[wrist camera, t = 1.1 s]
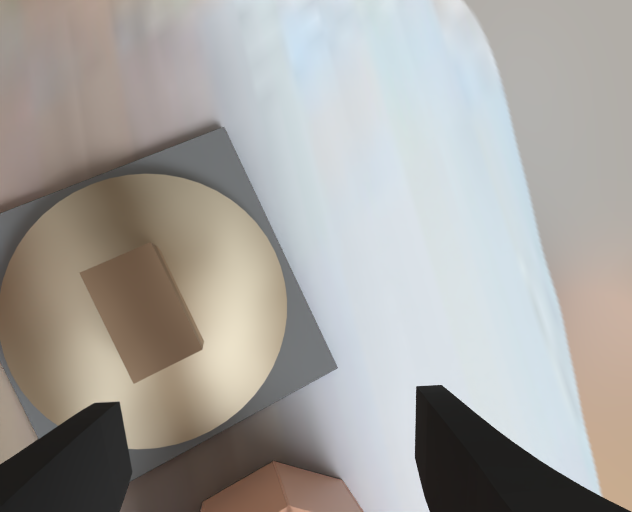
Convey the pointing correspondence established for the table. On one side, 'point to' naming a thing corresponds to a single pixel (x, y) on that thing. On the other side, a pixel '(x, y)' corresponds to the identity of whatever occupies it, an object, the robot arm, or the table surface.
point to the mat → (232, 181)
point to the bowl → (284, 493)
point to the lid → (144, 307)
